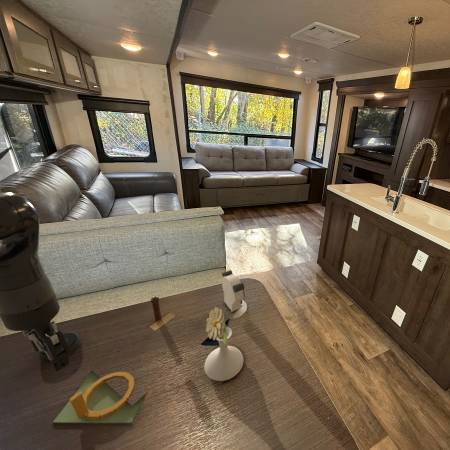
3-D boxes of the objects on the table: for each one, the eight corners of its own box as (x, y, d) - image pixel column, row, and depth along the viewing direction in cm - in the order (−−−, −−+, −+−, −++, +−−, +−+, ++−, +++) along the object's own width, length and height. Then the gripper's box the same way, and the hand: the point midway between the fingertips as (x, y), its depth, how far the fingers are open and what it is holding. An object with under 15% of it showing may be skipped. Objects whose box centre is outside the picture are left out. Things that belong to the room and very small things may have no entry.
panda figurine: (253, 312, 97) (253, 281, 91) (225, 324, 90) (224, 292, 84) (238, 295, 106) (238, 265, 100) (212, 305, 99) (210, 274, 93)
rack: (140, 324, 87) (135, 299, 83) (161, 310, 94) (157, 286, 89) (155, 334, 84) (150, 308, 80) (176, 319, 91) (172, 294, 86)
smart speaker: (40, 351, 75) (36, 342, 73) (79, 335, 81) (75, 326, 79) (44, 371, 69) (39, 362, 68) (84, 352, 76) (81, 343, 74)
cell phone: (230, 315, 95) (230, 314, 95) (222, 346, 82) (222, 344, 82) (211, 315, 94) (211, 313, 94) (200, 346, 82) (199, 344, 81)
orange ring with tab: (66, 407, 62) (57, 387, 59) (119, 367, 72) (113, 349, 69) (92, 433, 57) (83, 413, 54) (144, 387, 67) (139, 369, 64)
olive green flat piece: (53, 423, 59) (52, 422, 59) (92, 371, 71) (92, 370, 70) (131, 423, 60) (131, 422, 60) (157, 372, 72) (157, 371, 72)
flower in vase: (206, 353, 79) (201, 290, 69) (242, 347, 82) (242, 287, 72) (202, 394, 68) (194, 326, 58) (244, 386, 71) (244, 320, 61)
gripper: (-19, 295, 46) (13, 355, 53) (15, 327, 41) (45, 389, 47) (35, 275, 52) (57, 331, 59) (70, 301, 47) (90, 359, 54)
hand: (52, 357), depth 53 cm, fingers open, 8 cm apart
